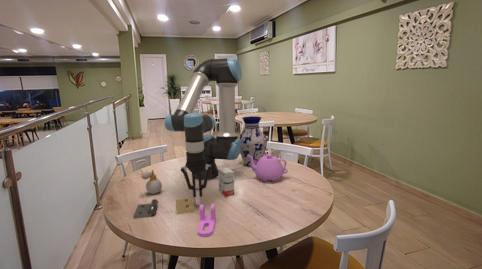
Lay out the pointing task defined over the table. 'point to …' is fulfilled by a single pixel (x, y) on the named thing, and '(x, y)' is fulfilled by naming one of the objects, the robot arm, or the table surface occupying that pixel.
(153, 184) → the perfume bottle
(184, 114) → the robot arm
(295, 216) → the table surface
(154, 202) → the steel leaf
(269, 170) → the teapot
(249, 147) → the vase
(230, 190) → the ink box
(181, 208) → the plate
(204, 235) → the bracket
